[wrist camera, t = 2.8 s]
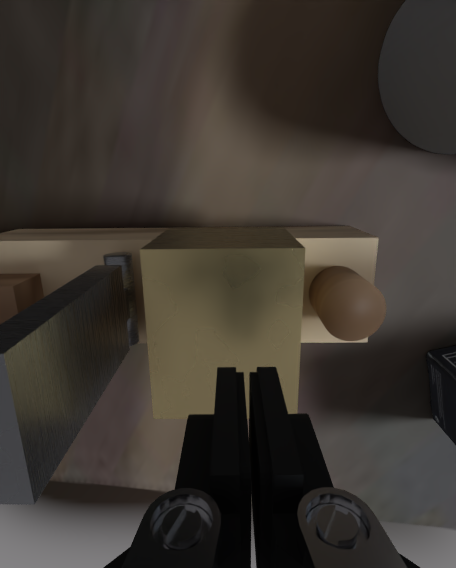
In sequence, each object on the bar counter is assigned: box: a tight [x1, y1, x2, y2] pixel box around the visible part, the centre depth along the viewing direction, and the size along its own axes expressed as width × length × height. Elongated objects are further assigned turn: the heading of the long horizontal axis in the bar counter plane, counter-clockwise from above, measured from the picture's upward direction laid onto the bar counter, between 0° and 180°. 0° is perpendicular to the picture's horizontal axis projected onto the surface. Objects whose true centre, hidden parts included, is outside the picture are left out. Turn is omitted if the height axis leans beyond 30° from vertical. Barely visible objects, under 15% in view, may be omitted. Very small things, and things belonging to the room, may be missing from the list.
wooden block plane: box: [0, 226, 386, 343], centre depth 21 cm, size 6×22×8 cm, turn 91°
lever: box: [0, 252, 139, 504], centre depth 14 cm, size 5×1×11 cm, turn 1°
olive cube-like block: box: [140, 227, 305, 419], centre depth 17 cm, size 7×6×6 cm
